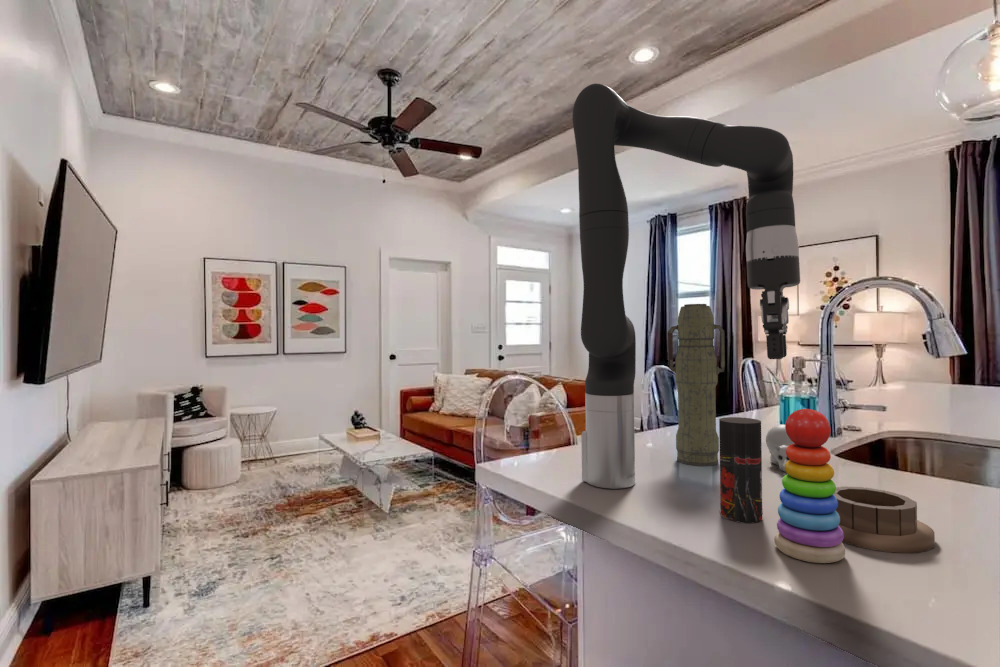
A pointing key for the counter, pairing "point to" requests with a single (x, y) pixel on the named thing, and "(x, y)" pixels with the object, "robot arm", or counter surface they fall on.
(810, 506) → the stacking toy
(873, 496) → the socket stand
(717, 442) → the thermos
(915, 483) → the counter surface
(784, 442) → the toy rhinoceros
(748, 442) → the deodorant
